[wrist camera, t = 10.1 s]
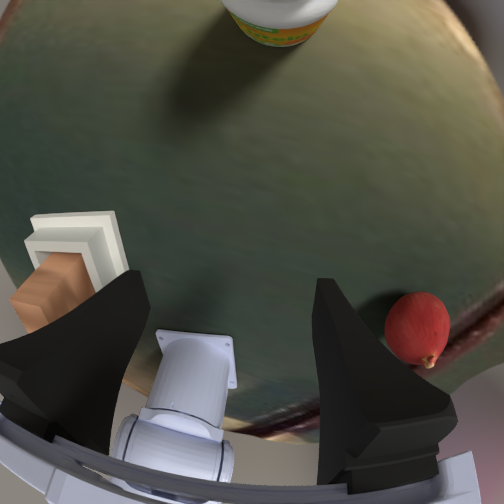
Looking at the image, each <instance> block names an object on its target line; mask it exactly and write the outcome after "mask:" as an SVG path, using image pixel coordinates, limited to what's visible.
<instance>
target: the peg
mask: <svg viewBox="0 0 504 504" xmlns="http://www.w3.org/2000/svg"><path fill="white" fill-rule="evenodd" d="M95 293H96V292H95V289H94V287H93V284H92V282H91V279H90V276H89V274H88V271H87V268H86V265H85V262H84V259H83V257H82V254H81V253H70V252H52V253H51V254H50V255H49V256H48V258H47V259H46V260H45V261H44V262H43V263H42V264H41V265H40V266H39V267H38V268H37V269H36V270H35V271H34V272H33V273H32V274H31V275H30V277H29V278H28V279H27V280H26V281H25V282H24V283H23V284H22V285H21V286H20V288H19V289H18V290H17V291H16V292H15V293H14V295H13V296H12V297H11V298H10V302H11V304H12V305H13V307H14V309H15V311H16V313H17V315H18V316H19V318H20V320H21V321H22V323H23V325H24V326H25V328H26V330H27V331H28V333H32V332H34V331H36V330H38V329H40V328H42V327H44V326H46V325H48V324H50V323H52V322H53V321H55V320H57V319H59V318H60V317H62V316H64V315H65V314H67V313H68V312H70V311H71V310H73V309H74V308H76V307H77V306H79V305H80V304H81V303H83V302H84V301H86V300H87V299H88V298H90V297H91V296H93V295H94V294H95Z"/></svg>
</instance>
